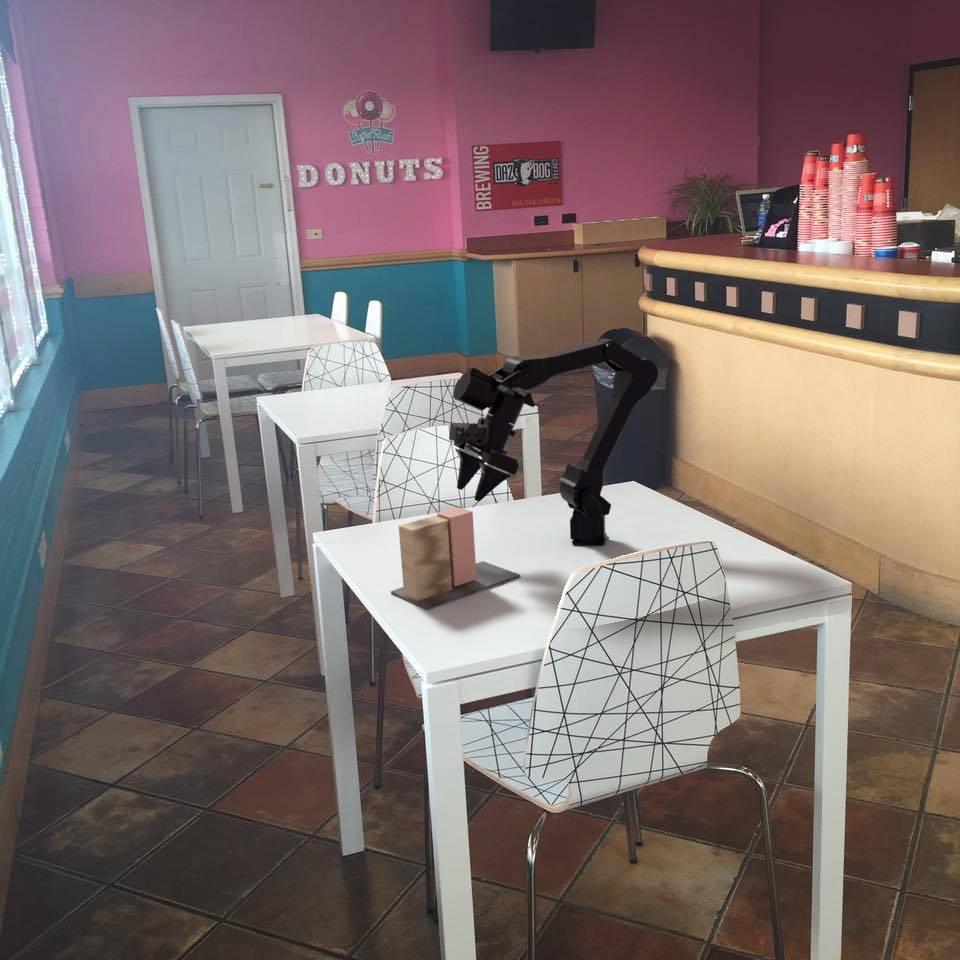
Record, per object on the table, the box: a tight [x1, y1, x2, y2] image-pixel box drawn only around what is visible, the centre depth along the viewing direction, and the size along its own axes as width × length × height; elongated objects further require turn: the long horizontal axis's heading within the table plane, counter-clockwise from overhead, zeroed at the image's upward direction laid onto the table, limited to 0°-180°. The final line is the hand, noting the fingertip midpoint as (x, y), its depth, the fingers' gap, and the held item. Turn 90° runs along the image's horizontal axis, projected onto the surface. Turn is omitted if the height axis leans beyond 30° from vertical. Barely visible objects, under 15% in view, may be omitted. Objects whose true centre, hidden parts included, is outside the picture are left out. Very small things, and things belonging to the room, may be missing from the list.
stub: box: [436, 507, 477, 587], centre depth 187 cm, size 5×4×13 cm
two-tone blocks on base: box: [390, 515, 522, 611], centre depth 187 cm, size 22×11×14 cm, turn 129°
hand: (467, 494), depth 196 cm, fingers open, 9 cm apart
